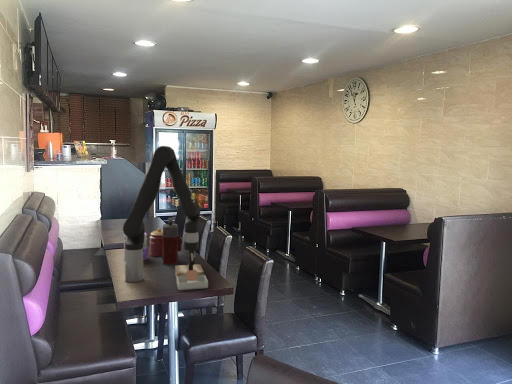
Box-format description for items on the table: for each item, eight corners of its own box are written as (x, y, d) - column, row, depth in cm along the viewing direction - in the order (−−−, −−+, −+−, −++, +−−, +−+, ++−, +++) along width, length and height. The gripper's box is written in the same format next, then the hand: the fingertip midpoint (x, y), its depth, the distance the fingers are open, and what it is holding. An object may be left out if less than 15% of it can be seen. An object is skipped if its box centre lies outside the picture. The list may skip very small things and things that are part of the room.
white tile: (187, 280, 209) (187, 284, 209) (188, 283, 204) (188, 288, 204) (196, 279, 210) (196, 284, 211) (197, 282, 205) (197, 287, 206)
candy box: (124, 261, 250) (124, 235, 248) (123, 259, 255) (123, 233, 253) (147, 259, 255) (147, 234, 253) (146, 257, 260) (146, 232, 258)
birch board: (177, 282, 214) (177, 273, 214) (175, 274, 228) (175, 265, 227) (203, 280, 218) (203, 271, 217) (200, 272, 231) (200, 264, 231)
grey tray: (178, 290, 203) (178, 283, 202) (176, 283, 213) (176, 276, 213) (207, 288, 207) (208, 281, 206) (204, 281, 217) (204, 274, 217)
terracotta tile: (186, 281, 211) (187, 279, 208) (186, 271, 213) (186, 270, 211) (196, 280, 212) (197, 279, 210) (195, 271, 214) (196, 270, 212)
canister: (149, 257, 261) (149, 230, 259) (149, 252, 273) (149, 226, 271) (169, 256, 264) (169, 229, 262) (168, 251, 277) (168, 226, 275)
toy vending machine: (181, 263, 248) (181, 218, 245) (163, 264, 246) (163, 219, 243) (180, 259, 257) (181, 216, 254) (162, 260, 254) (162, 216, 251)
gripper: (182, 237, 217) (182, 268, 220) (185, 243, 205) (184, 276, 207) (196, 236, 219) (196, 267, 222) (200, 243, 207) (199, 275, 209)
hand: (190, 271), depth 214 cm, fingers closed
